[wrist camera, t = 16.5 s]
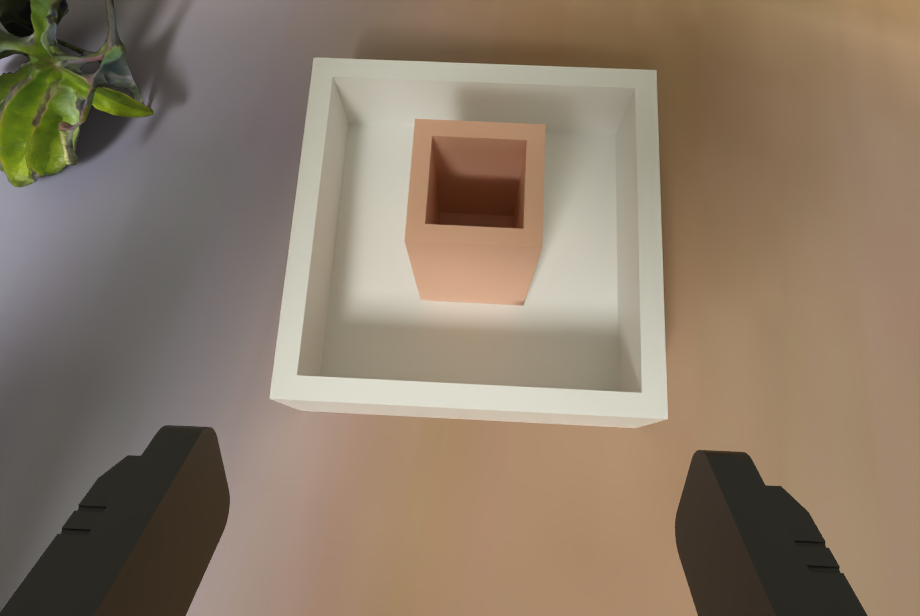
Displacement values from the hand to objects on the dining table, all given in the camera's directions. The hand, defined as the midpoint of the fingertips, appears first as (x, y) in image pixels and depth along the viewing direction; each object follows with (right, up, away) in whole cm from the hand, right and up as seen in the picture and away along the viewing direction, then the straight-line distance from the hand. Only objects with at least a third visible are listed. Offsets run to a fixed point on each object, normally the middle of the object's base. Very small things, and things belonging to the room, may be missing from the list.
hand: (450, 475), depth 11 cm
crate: (+1, +5, +21) cm, 22 cm away
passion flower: (-21, +15, +24) cm, 35 cm away
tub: (+1, +6, +20) cm, 21 cm away
